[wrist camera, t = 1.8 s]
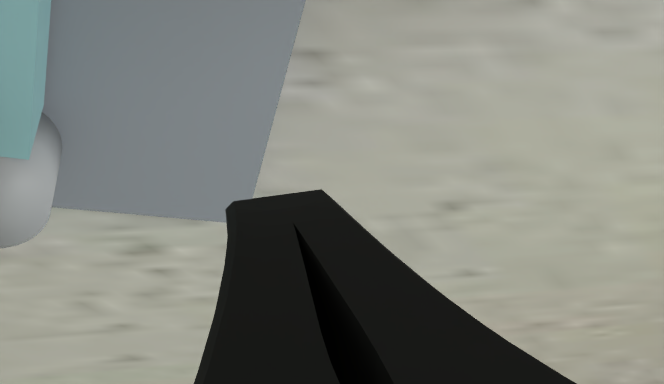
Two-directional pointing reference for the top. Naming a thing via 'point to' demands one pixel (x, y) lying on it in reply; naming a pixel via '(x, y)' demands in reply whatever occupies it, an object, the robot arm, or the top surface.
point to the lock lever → (25, 122)
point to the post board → (165, 101)
